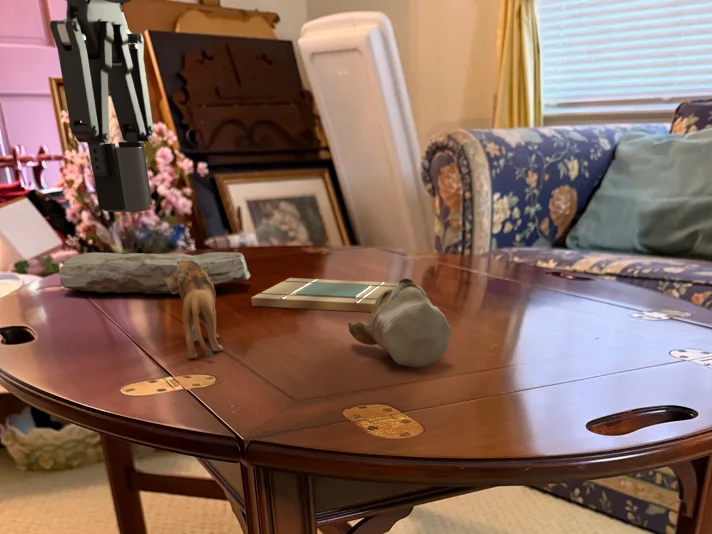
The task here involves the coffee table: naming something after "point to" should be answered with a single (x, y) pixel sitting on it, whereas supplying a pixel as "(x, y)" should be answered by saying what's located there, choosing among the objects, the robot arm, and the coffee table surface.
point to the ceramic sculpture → (405, 326)
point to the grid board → (323, 294)
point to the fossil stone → (145, 271)
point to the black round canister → (132, 179)
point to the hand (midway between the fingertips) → (126, 206)
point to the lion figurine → (195, 304)
